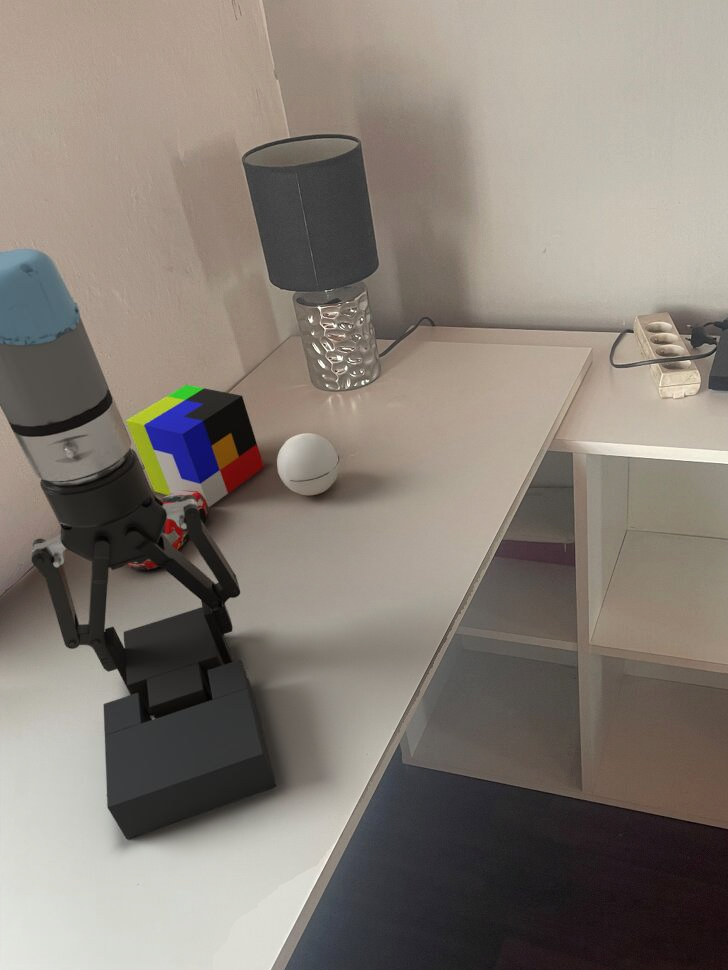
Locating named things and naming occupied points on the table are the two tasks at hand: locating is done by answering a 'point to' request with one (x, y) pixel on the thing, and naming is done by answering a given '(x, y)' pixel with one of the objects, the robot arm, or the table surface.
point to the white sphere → (308, 464)
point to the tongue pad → (171, 662)
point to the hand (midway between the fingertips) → (182, 673)
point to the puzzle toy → (196, 442)
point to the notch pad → (184, 755)
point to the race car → (174, 526)
